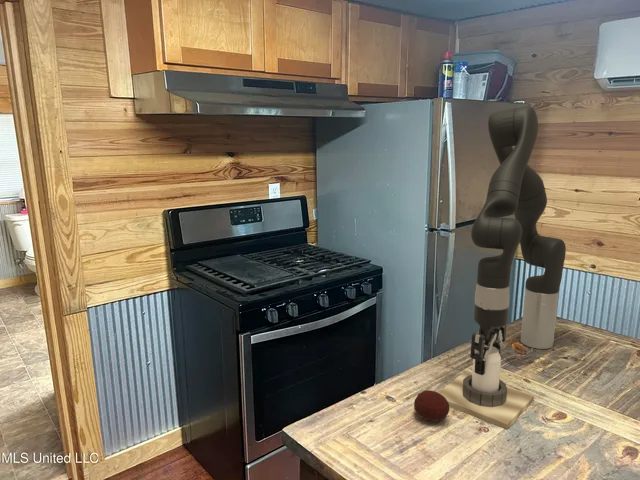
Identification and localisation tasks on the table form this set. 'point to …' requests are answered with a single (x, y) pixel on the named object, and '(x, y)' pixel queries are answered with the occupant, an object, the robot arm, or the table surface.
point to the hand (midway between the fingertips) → (487, 367)
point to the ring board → (488, 412)
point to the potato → (431, 405)
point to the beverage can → (488, 373)
